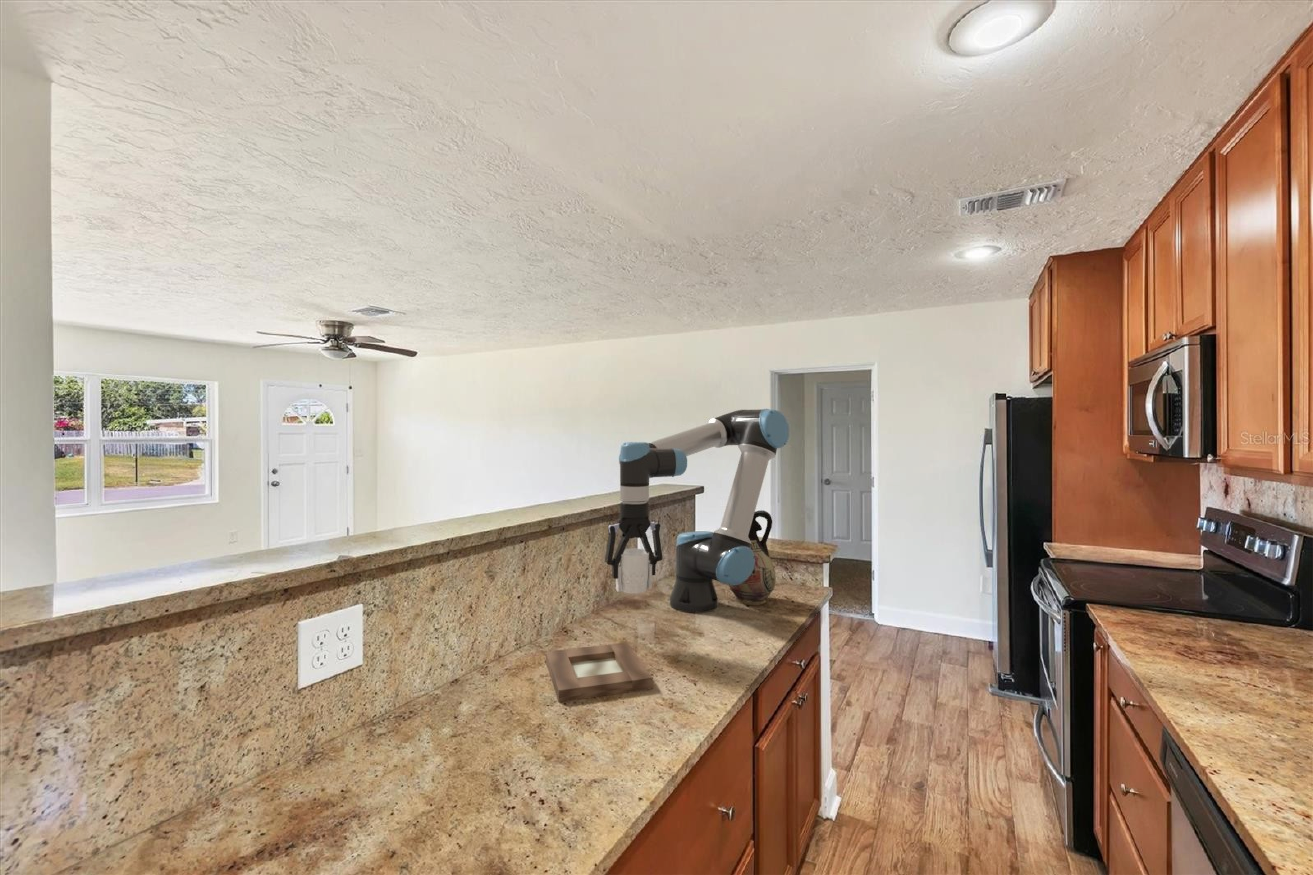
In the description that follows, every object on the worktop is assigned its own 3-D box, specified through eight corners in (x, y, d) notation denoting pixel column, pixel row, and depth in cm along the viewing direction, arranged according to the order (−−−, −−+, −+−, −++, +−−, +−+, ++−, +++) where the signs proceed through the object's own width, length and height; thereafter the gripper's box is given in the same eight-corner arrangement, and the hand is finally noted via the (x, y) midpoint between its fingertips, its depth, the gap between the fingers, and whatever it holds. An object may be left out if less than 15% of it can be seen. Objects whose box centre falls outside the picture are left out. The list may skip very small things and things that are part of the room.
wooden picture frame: (627, 652, 137) (627, 642, 137) (652, 688, 118) (652, 677, 118) (545, 661, 131) (545, 651, 130) (558, 702, 112) (558, 690, 112)
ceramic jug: (723, 606, 174) (725, 511, 173) (731, 592, 188) (732, 504, 188) (778, 612, 169) (780, 514, 168) (781, 597, 183) (783, 507, 183)
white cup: (636, 597, 138) (636, 557, 138) (612, 591, 143) (612, 552, 142) (655, 589, 144) (655, 551, 144) (632, 583, 149) (632, 547, 149)
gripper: (666, 498, 150) (665, 581, 150) (592, 501, 143) (592, 588, 144) (676, 502, 143) (675, 589, 143) (599, 505, 136) (598, 597, 137)
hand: (633, 589), depth 143 cm, fingers closed on white cup, 7 cm apart
